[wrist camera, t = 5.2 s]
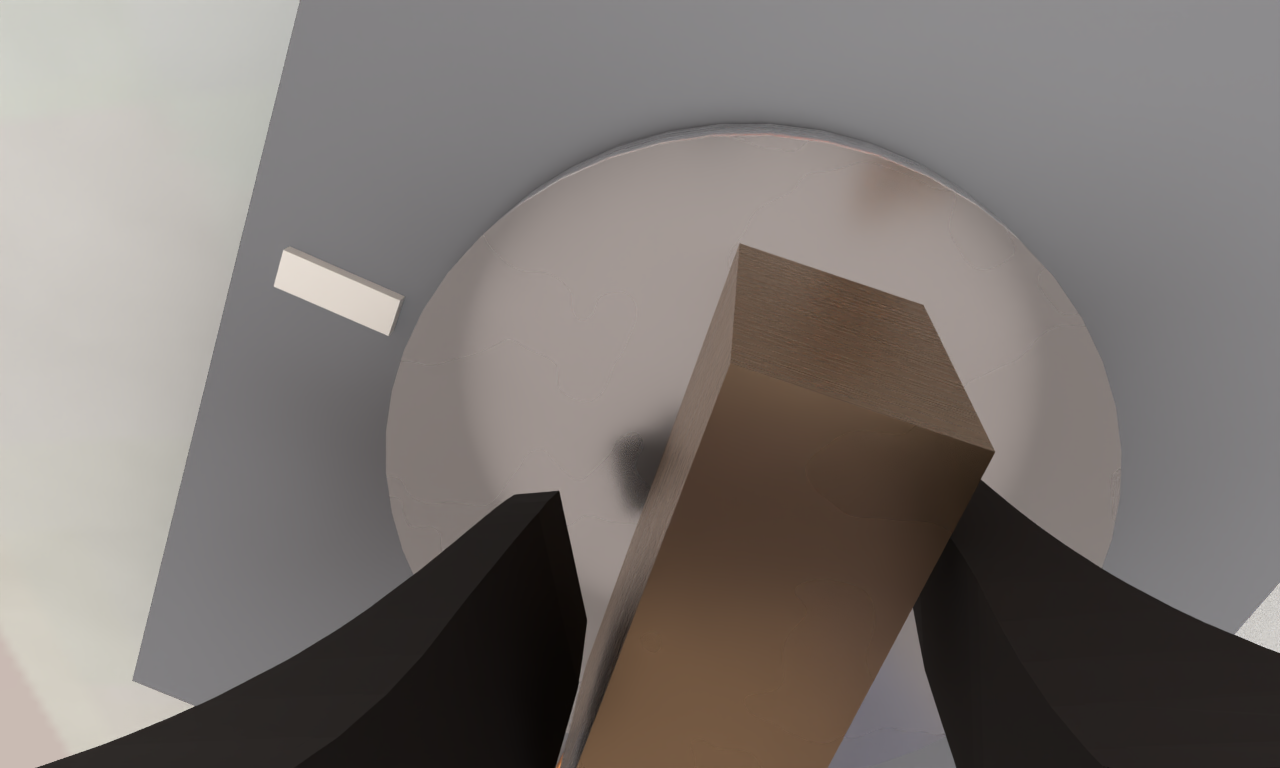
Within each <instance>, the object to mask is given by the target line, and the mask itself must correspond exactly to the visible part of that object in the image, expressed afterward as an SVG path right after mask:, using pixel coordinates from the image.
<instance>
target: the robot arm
mask: <svg viewBox="0 0 1280 768" xmlns="http://www.w3.org/2000/svg"><path fill="white" fill-rule="evenodd" d="M913 611H914V617H915V622H916V628H917V633H918V638H919V644H920V649H921V654H922V659H923V664H924V669H925V673H926V676H927V679H928V682H929V685H930V688H931V692H932V695H933V698H934V701H935V704H936V707H937V710H938V713H939V716H940V719H941V723H942V726H943V729H944V732H945V735H946V738H947V741H948V744H949V747H950V750H951V753H952V756H953V759H954V762H955V765H956V768H1280V653H1278V652H1275V651H1273V650H1270V649H1267V648H1265V647H1262V646H1259V645H1257V644H1255V643H1252V642H1250V641H1248V640H1245V639H1243V638H1240V637H1238V636H1236V635H1233V634H1231V633H1229V632H1226V631H1224V630H1222V629H1219V628H1217V627H1214V626H1212V625H1210V624H1207V623H1205V622H1203V621H1201V620H1199V619H1196V618H1194V617H1192V616H1190V615H1188V614H1186V613H1184V612H1181V611H1179V610H1177V609H1175V608H1173V607H1171V606H1169V605H1167V604H1166V603H1164V602H1162V601H1160V600H1158V599H1156V598H1154V597H1152V596H1150V595H1149V594H1147V593H1145V592H1143V591H1141V590H1139V589H1137V588H1135V587H1133V586H1131V585H1130V584H1128V583H1126V582H1124V581H1122V580H1121V579H1119V578H1117V577H1116V576H1114V575H1112V574H1110V573H1109V572H1107V571H1105V570H1104V569H1102V568H1100V567H1099V566H1097V565H1096V564H1094V563H1093V562H1091V561H1090V560H1088V559H1086V558H1085V557H1083V556H1082V555H1080V554H1079V553H1077V552H1076V551H1074V550H1073V549H1071V548H1070V547H1068V546H1066V545H1065V544H1063V543H1062V542H1061V541H1059V540H1058V539H1056V538H1055V537H1054V536H1052V535H1051V534H1049V533H1048V532H1046V531H1045V530H1044V529H1042V528H1041V527H1040V526H1038V525H1037V524H1036V523H1034V522H1033V521H1032V520H1030V519H1029V518H1028V517H1026V516H1025V515H1024V514H1022V513H1021V512H1020V511H1019V510H1017V509H1016V508H1015V507H1014V506H1012V505H1011V504H1010V503H1009V502H1007V501H1006V500H1005V499H1004V498H1003V497H1001V496H1000V495H999V494H998V493H997V492H995V491H994V490H993V489H992V488H991V487H989V486H988V485H987V484H986V483H985V482H984V481H982V480H980V482H979V484H978V486H977V488H976V490H975V491H974V493H973V495H972V497H971V499H970V501H969V503H968V505H967V506H966V508H965V510H964V512H963V514H962V516H961V518H960V520H959V522H958V523H957V525H956V527H955V529H954V531H953V533H952V535H951V537H950V538H949V540H948V542H947V544H946V546H945V548H944V550H943V552H942V554H941V555H940V557H939V559H938V561H937V563H936V565H935V567H934V569H933V570H932V572H931V574H930V576H929V578H928V580H927V582H926V584H925V586H924V587H923V589H922V591H921V593H920V595H919V597H918V599H917V601H916V602H915V604H914V606H913ZM586 627H587V617H586V612H585V607H584V603H583V598H582V594H581V589H580V584H579V580H578V575H577V570H576V566H575V561H574V556H573V552H572V547H571V543H570V538H569V533H568V529H567V524H566V519H565V515H564V510H563V505H562V501H561V496H560V492H559V491H549V492H537V493H525V494H515V495H513V496H512V497H510V498H508V499H507V500H505V501H504V502H503V503H501V504H500V505H499V506H497V507H496V508H495V509H494V510H492V511H491V512H490V513H489V514H487V515H486V516H485V517H484V518H482V519H481V520H480V521H479V522H478V523H476V524H475V525H474V526H473V527H472V528H470V529H469V530H468V531H467V532H466V533H464V534H463V535H462V536H461V537H459V538H458V539H457V540H456V541H455V542H453V543H452V544H451V545H450V546H449V547H447V548H446V549H445V550H444V551H442V552H441V553H440V554H439V555H438V556H436V557H435V558H434V559H433V560H431V561H430V562H429V563H428V564H427V565H425V566H424V567H423V568H422V569H420V570H419V571H418V572H416V573H415V574H414V575H412V576H411V577H410V578H408V579H407V580H406V581H404V582H403V583H402V584H400V585H399V586H398V587H396V588H395V589H394V590H392V591H391V592H390V593H388V594H387V595H386V596H384V597H383V598H382V599H380V600H379V601H378V602H376V603H375V604H374V605H372V606H371V607H370V608H368V609H367V610H366V611H364V612H363V613H361V614H360V615H358V616H357V617H355V618H354V619H352V620H351V621H349V622H348V623H346V624H345V625H343V626H342V627H340V628H339V629H337V630H336V631H334V632H333V633H331V634H329V635H328V636H326V637H324V638H323V639H321V640H320V641H318V642H316V643H315V644H313V645H311V646H310V647H308V648H306V649H305V650H303V651H302V652H300V653H298V654H296V655H295V656H293V657H291V658H289V659H288V660H286V661H284V662H282V663H280V664H278V665H276V666H275V667H273V668H271V669H269V670H267V671H265V672H263V673H261V674H259V675H257V676H255V677H253V678H251V679H249V680H248V681H246V682H244V683H242V684H240V685H238V686H236V687H234V688H232V689H230V690H228V691H226V692H224V693H223V694H221V695H219V696H217V697H215V698H212V699H210V700H208V701H206V702H204V703H202V704H199V705H197V706H195V707H193V708H191V709H188V710H186V711H184V712H182V713H179V714H177V715H175V716H173V717H170V718H168V719H166V720H163V721H161V722H158V723H156V724H154V725H151V726H149V727H146V728H144V729H141V730H139V731H137V732H134V733H132V734H129V735H127V736H124V737H122V738H119V739H116V740H114V741H111V742H109V743H106V744H103V745H101V746H98V747H95V748H92V749H89V750H86V751H83V752H81V753H78V754H75V755H72V756H69V757H66V758H63V759H60V760H57V761H54V762H52V763H49V764H46V765H43V766H40V767H37V768H555V767H556V764H557V760H558V757H559V753H560V750H561V747H562V743H563V740H564V736H565V733H566V729H567V726H568V722H569V718H570V715H571V711H572V708H573V704H574V701H575V697H576V693H577V689H578V685H579V678H580V671H581V665H582V658H583V651H584V643H585V635H586Z"/></svg>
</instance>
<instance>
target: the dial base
mask: <svg viewBox="0 0 1280 768" xmlns="http://www.w3.org/2000/svg"><path fill="white" fill-rule="evenodd" d="M717 124H774V125H782V126H790V127H798V128H807V129H815V130H822V131H826V132H829V133H833V134H837V135H841V136H844V137H848V138H852V139H856V140H860V141H863V142H867V143H871V144H873V145H876V146H878V147H881V148H883V149H885V150H888V151H890V152H893V153H895V154H897V155H900V156H902V157H905V158H907V159H909V160H912V161H914V162H917V163H919V164H920V165H922V166H924V167H926V168H927V169H929V170H931V171H932V172H934V173H936V174H937V175H939V176H941V177H942V178H944V179H946V180H948V181H949V182H951V183H953V184H954V185H956V186H958V187H959V188H961V189H962V190H964V191H965V192H966V193H967V194H969V195H970V196H971V197H972V198H974V199H975V200H976V201H977V202H979V203H980V204H981V205H982V206H984V207H985V208H986V209H987V210H989V211H990V212H991V213H992V214H994V215H995V216H996V217H997V218H999V219H1000V220H1001V221H1002V222H1003V223H1004V224H1005V225H1006V226H1007V227H1008V228H1009V230H1010V231H1011V232H1012V233H1013V234H1014V235H1015V236H1016V237H1017V238H1018V239H1019V240H1020V241H1021V242H1022V243H1023V244H1024V245H1025V246H1026V247H1027V249H1028V250H1029V251H1030V252H1031V253H1032V254H1033V255H1034V256H1035V257H1036V258H1037V259H1038V260H1039V261H1040V263H1041V264H1042V265H1043V266H1044V267H1045V268H1046V269H1047V270H1048V271H1049V272H1050V273H1051V274H1052V275H1053V277H1054V278H1055V279H1056V281H1057V282H1058V284H1059V285H1060V287H1061V288H1062V290H1063V291H1064V293H1065V294H1066V295H1067V297H1068V298H1069V300H1070V301H1071V303H1072V304H1073V306H1074V307H1075V309H1076V310H1077V312H1078V313H1079V315H1080V316H1081V318H1082V319H1083V321H1084V323H1085V326H1086V328H1087V330H1088V332H1089V334H1090V336H1091V338H1092V340H1093V343H1094V345H1095V347H1096V349H1097V351H1098V353H1099V355H1100V357H1101V359H1102V362H1103V365H1104V368H1105V372H1106V375H1107V378H1108V382H1109V385H1110V389H1111V392H1112V396H1113V399H1114V402H1115V406H1116V412H1117V420H1118V428H1119V436H1120V444H1121V482H1120V499H1119V504H1118V510H1117V515H1116V520H1115V525H1114V530H1113V536H1112V540H1111V543H1110V546H1109V549H1108V551H1107V554H1106V557H1105V560H1104V563H1103V566H1102V569H1104V570H1105V571H1107V572H1109V573H1110V574H1112V575H1114V576H1116V577H1117V578H1119V579H1121V580H1122V581H1124V582H1126V583H1128V584H1130V585H1131V586H1133V587H1135V588H1137V589H1139V590H1141V591H1143V592H1145V593H1147V594H1149V595H1150V596H1152V597H1154V598H1156V599H1158V600H1160V601H1162V602H1164V603H1166V604H1167V605H1169V606H1171V607H1173V608H1175V609H1177V610H1179V611H1181V612H1184V613H1186V614H1188V615H1190V616H1192V617H1194V618H1196V619H1199V620H1201V621H1203V622H1205V623H1207V624H1210V625H1212V626H1214V627H1217V628H1219V629H1222V630H1224V631H1226V632H1229V633H1231V634H1233V635H1234V634H1235V633H1236V632H1237V631H1238V630H1239V628H1240V627H1241V626H1242V625H1243V624H1244V623H1245V622H1246V620H1247V619H1248V618H1249V617H1250V616H1251V615H1252V614H1253V612H1254V611H1255V610H1256V609H1257V608H1258V607H1259V606H1260V604H1261V603H1262V602H1263V601H1264V600H1265V599H1266V598H1267V596H1268V595H1269V594H1270V593H1271V592H1272V591H1273V590H1274V588H1275V587H1276V586H1277V585H1278V584H1279V583H1280V0H300V3H299V7H298V11H297V15H296V19H295V23H294V27H293V31H292V35H291V39H290V43H289V47H288V51H287V55H286V59H285V63H284V67H283V72H282V76H281V80H280V84H279V88H278V92H277V96H276V100H275V104H274V108H273V112H272V116H271V120H270V124H269V128H268V132H267V136H266V140H265V145H264V149H263V153H262V157H261V161H260V165H259V169H258V173H257V177H256V181H255V185H254V189H253V193H252V197H251V201H250V205H249V209H248V214H247V218H246V222H245V226H244V230H243V234H242V238H241V242H240V246H239V250H238V254H237V258H236V262H235V266H234V270H233V274H232V278H231V282H230V287H229V291H228V295H227V299H226V303H225V307H224V311H223V315H222V319H221V323H220V327H219V331H218V335H217V339H216V343H215V347H214V351H213V356H212V360H211V364H210V368H209V372H208V376H207V380H206V384H205V388H204V392H203V396H202V400H201V404H200V408H199V412H198V416H197V420H196V424H195V429H194V433H193V437H192V441H191V445H190V449H189V453H188V457H187V461H186V465H185V469H184V473H183V477H182V481H181V485H180V489H179V493H178V498H177V502H176V506H175V510H174V514H173V518H172V522H171V526H170V530H169V534H168V538H167V542H166V546H165V550H164V554H163V558H162V562H161V567H160V571H159V575H158V579H157V583H156V587H155V591H154V595H153V599H152V603H151V607H150V611H149V615H148V619H147V623H146V627H145V631H144V635H143V640H142V644H141V648H140V652H139V656H138V660H137V664H136V668H135V672H134V676H133V680H132V681H135V682H137V683H140V684H142V685H145V686H147V687H149V688H152V689H154V690H157V691H159V692H162V693H164V694H167V695H169V696H172V697H174V698H177V699H179V700H182V701H184V702H187V703H189V704H192V705H194V706H197V705H199V704H202V703H204V702H206V701H208V700H210V699H212V698H215V697H217V696H219V695H221V694H223V693H224V692H226V691H228V690H230V689H232V688H234V687H236V686H238V685H240V684H242V683H244V682H246V681H248V680H249V679H251V678H253V677H255V676H257V675H259V674H261V673H263V672H265V671H267V670H269V669H271V668H273V667H275V666H276V665H278V664H280V663H282V662H284V661H286V660H288V659H289V658H291V657H293V656H295V655H296V654H298V653H300V652H302V651H303V650H305V649H306V648H308V647H310V646H311V645H313V644H315V643H316V642H318V641H320V640H321V639H323V638H324V637H326V636H328V635H329V634H331V633H333V632H334V631H336V630H337V629H339V628H340V627H342V626H343V625H345V624H346V623H348V622H349V621H351V620H352V619H354V618H355V617H357V616H358V615H360V614H361V613H363V612H364V611H366V610H367V609H368V608H370V607H371V606H372V605H374V604H375V603H376V602H378V601H379V600H380V599H382V598H383V597H384V596H386V595H387V594H388V593H390V592H391V591H392V590H394V589H395V588H396V587H398V586H399V585H400V584H402V583H403V582H404V581H406V580H407V579H408V578H410V577H411V576H412V575H413V572H412V570H411V568H410V566H409V563H408V561H407V559H406V557H405V554H404V552H403V549H402V546H401V542H400V539H399V535H398V532H397V529H396V525H395V522H394V518H393V515H392V510H391V503H390V497H389V490H388V483H387V476H386V428H387V421H388V414H389V407H390V400H391V393H392V389H393V385H394V382H395V379H396V375H397V372H398V369H399V365H400V362H401V359H402V355H403V352H404V349H405V347H406V345H407V343H408V341H409V338H410V336H411V334H412V332H413V330H414V328H415V326H416V324H417V322H418V319H419V317H420V315H421V313H422V311H423V309H424V308H425V306H426V305H427V303H428V302H429V300H430V299H431V297H432V296H433V294H434V293H435V291H436V290H437V288H438V287H439V285H440V284H441V282H442V281H443V279H444V278H445V276H446V275H447V273H448V272H449V271H450V270H451V269H452V268H453V266H454V265H455V264H456V263H457V262H458V261H459V260H460V259H461V258H462V256H463V255H464V254H465V253H466V252H467V251H468V250H469V249H470V248H471V247H472V245H473V244H474V243H475V242H476V241H477V240H478V239H479V238H480V237H481V236H482V235H483V234H484V233H485V232H486V231H487V230H488V229H489V228H490V227H491V226H492V225H493V224H494V223H496V222H497V221H498V220H499V219H500V218H501V217H502V216H503V215H505V214H506V213H507V212H508V211H510V210H511V209H512V208H513V207H514V206H516V205H517V204H518V203H519V202H520V201H522V200H523V199H524V198H525V197H526V196H528V195H529V194H530V193H531V192H532V191H534V190H535V189H537V188H538V187H540V186H542V185H543V184H545V183H546V182H548V181H550V180H551V179H553V178H555V177H556V176H558V175H559V174H561V173H563V172H564V171H566V170H568V169H569V168H571V167H572V166H574V165H576V164H578V163H581V162H583V161H585V160H587V159H590V158H592V157H594V156H596V155H599V154H601V153H603V152H606V151H608V150H610V149H612V148H615V147H617V146H619V145H623V144H626V143H630V142H633V141H637V140H640V139H644V138H647V137H651V136H654V135H658V134H661V133H665V132H669V131H676V130H683V129H690V128H697V127H704V126H710V125H717ZM568 734H569V733H567V732H566V733H565V736H564V740H563V743H562V747H561V750H560V753H559V757H558V760H557V764H556V767H555V768H560V766H561V762H562V758H563V754H564V750H565V746H566V742H567V738H568ZM864 768H956V765H955V762H954V759H953V756H952V753H951V750H950V747H949V744H948V741H947V738H946V737H944V738H941V739H939V740H937V741H935V742H933V743H931V744H929V745H927V746H925V747H923V748H921V749H919V750H916V751H914V752H911V753H908V754H905V755H902V756H900V757H897V758H894V759H891V760H888V761H885V762H883V763H880V764H877V765H873V766H868V767H864Z"/></svg>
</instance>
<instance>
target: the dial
mask: <svg viewBox="0 0 1280 768" xmlns="http://www.w3.org/2000/svg"><path fill="white" fill-rule="evenodd" d="M386 476H387V483H388V490H389V497H390V503H391V510H392V515H393V518H394V522H395V525H396V529H397V532H398V535H399V539H400V542H401V546H402V549H403V552H404V554H405V557H406V559H407V561H408V563H409V566H410V568H411V570H412V572H413V575H414V574H415V573H416V572H418V571H419V570H420V569H422V568H423V567H424V566H425V565H427V564H428V563H429V562H430V561H431V560H433V559H434V558H435V557H436V556H438V555H439V554H440V553H441V552H442V551H444V550H445V549H446V548H447V547H449V546H450V545H451V544H452V543H453V542H455V541H456V540H457V539H458V538H459V537H461V536H462V535H463V534H464V533H466V532H467V531H468V530H469V529H470V528H472V527H473V526H474V525H475V524H476V523H478V522H479V521H480V520H481V519H482V518H484V517H485V516H486V515H487V514H489V513H490V512H491V511H492V510H494V509H495V508H496V507H497V506H499V505H500V504H501V503H503V502H504V501H505V500H507V499H508V498H510V497H512V496H513V495H515V494H525V493H537V492H549V491H559V492H560V496H561V501H562V505H563V510H564V515H565V519H566V524H567V529H568V533H569V538H570V543H571V547H572V552H573V556H574V561H575V566H576V570H577V575H578V580H579V584H580V589H581V594H582V598H583V603H584V607H585V612H586V617H587V627H586V635H585V643H584V651H583V658H582V665H581V671H580V678H579V685H578V689H577V693H576V697H575V701H574V704H573V708H572V711H571V715H570V718H569V722H568V726H567V729H566V732H567V733H569V734H568V738H567V742H566V746H565V750H564V754H563V758H562V762H561V766H560V768H864V767H868V766H873V765H877V764H880V763H883V762H885V761H888V760H891V759H894V758H897V757H900V756H902V755H905V754H908V753H911V752H914V751H916V750H919V749H921V748H923V747H925V746H927V745H929V744H931V743H933V742H935V741H937V740H939V739H941V738H944V737H946V735H945V732H944V729H943V726H942V723H941V719H940V716H939V713H938V710H937V707H936V704H935V701H934V698H933V695H932V692H931V688H930V685H929V682H928V679H927V676H926V673H925V669H924V664H923V659H922V654H921V649H920V644H919V638H918V633H917V628H916V622H915V617H914V611H913V606H914V604H915V602H916V601H917V599H918V597H919V595H920V593H921V591H922V589H923V587H924V586H925V584H926V582H927V580H928V578H929V576H930V574H931V572H932V570H933V569H934V567H935V565H936V563H937V561H938V559H939V557H940V555H941V554H942V552H943V550H944V548H945V546H946V544H947V542H948V540H949V538H950V537H951V535H952V533H953V531H954V529H955V527H956V525H957V523H958V522H959V520H960V518H961V516H962V514H963V512H964V510H965V508H966V506H967V505H968V503H969V501H970V499H971V497H972V495H973V493H974V491H975V490H976V488H977V486H978V484H979V482H980V480H982V481H984V482H985V483H986V484H987V485H988V486H989V487H991V488H992V489H993V490H994V491H995V492H997V493H998V494H999V495H1000V496H1001V497H1003V498H1004V499H1005V500H1006V501H1007V502H1009V503H1010V504H1011V505H1012V506H1014V507H1015V508H1016V509H1017V510H1019V511H1020V512H1021V513H1022V514H1024V515H1025V516H1026V517H1028V518H1029V519H1030V520H1032V521H1033V522H1034V523H1036V524H1037V525H1038V526H1040V527H1041V528H1042V529H1044V530H1045V531H1046V532H1048V533H1049V534H1051V535H1052V536H1054V537H1055V538H1056V539H1058V540H1059V541H1061V542H1062V543H1063V544H1065V545H1066V546H1068V547H1070V548H1071V549H1073V550H1074V551H1076V552H1077V553H1079V554H1080V555H1082V556H1083V557H1085V558H1086V559H1088V560H1090V561H1091V562H1093V563H1094V564H1096V565H1097V566H1099V567H1100V568H1102V566H1103V563H1104V560H1105V557H1106V554H1107V551H1108V549H1109V546H1110V543H1111V540H1112V536H1113V530H1114V525H1115V520H1116V515H1117V510H1118V504H1119V499H1120V482H1121V444H1120V436H1119V428H1118V420H1117V412H1116V406H1115V402H1114V399H1113V396H1112V392H1111V389H1110V385H1109V382H1108V378H1107V375H1106V372H1105V368H1104V365H1103V362H1102V359H1101V357H1100V355H1099V353H1098V351H1097V349H1096V347H1095V345H1094V343H1093V340H1092V338H1091V336H1090V334H1089V332H1088V330H1087V328H1086V326H1085V323H1084V321H1083V319H1082V318H1081V316H1080V315H1079V313H1078V312H1077V310H1076V309H1075V307H1074V306H1073V304H1072V303H1071V301H1070V300H1069V298H1068V297H1067V295H1066V294H1065V293H1064V291H1063V290H1062V288H1061V287H1060V285H1059V284H1058V282H1057V281H1056V279H1055V278H1054V277H1053V275H1052V274H1051V273H1050V272H1049V271H1048V270H1047V269H1046V268H1045V267H1044V266H1043V265H1042V264H1041V263H1040V261H1039V260H1038V259H1037V258H1036V257H1035V256H1034V255H1033V254H1032V253H1031V252H1030V251H1029V250H1028V249H1027V247H1026V246H1025V245H1024V244H1023V243H1022V242H1021V241H1020V240H1019V239H1018V238H1017V237H1016V236H1015V235H1014V234H1013V233H1012V232H1011V231H1010V230H1009V228H1008V227H1007V226H1006V225H1005V224H1004V223H1003V222H1002V221H1001V220H1000V219H999V218H997V217H996V216H995V215H994V214H992V213H991V212H990V211H989V210H987V209H986V208H985V207H984V206H982V205H981V204H980V203H979V202H977V201H976V200H975V199H974V198H972V197H971V196H970V195H969V194H967V193H966V192H965V191H964V190H962V189H961V188H959V187H958V186H956V185H954V184H953V183H951V182H949V181H948V180H946V179H944V178H942V177H941V176H939V175H937V174H936V173H934V172H932V171H931V170H929V169H927V168H926V167H924V166H922V165H920V164H919V163H917V162H914V161H912V160H909V159H907V158H905V157H902V156H900V155H897V154H895V153H893V152H890V151H888V150H885V149H883V148H881V147H878V146H876V145H873V144H871V143H867V142H863V141H860V140H856V139H852V138H848V137H844V136H841V135H837V134H833V133H829V132H826V131H822V130H815V129H807V128H798V127H790V126H782V125H774V124H717V125H710V126H704V127H697V128H690V129H683V130H676V131H669V132H665V133H661V134H658V135H654V136H651V137H647V138H644V139H640V140H637V141H633V142H630V143H626V144H623V145H619V146H617V147H615V148H612V149H610V150H608V151H606V152H603V153H601V154H599V155H596V156H594V157H592V158H590V159H587V160H585V161H583V162H581V163H578V164H576V165H574V166H572V167H571V168H569V169H568V170H566V171H564V172H563V173H561V174H559V175H558V176H556V177H555V178H553V179H551V180H550V181H548V182H546V183H545V184H543V185H542V186H540V187H538V188H537V189H535V190H534V191H532V192H531V193H530V194H529V195H528V196H526V197H525V198H524V199H523V200H522V201H520V202H519V203H518V204H517V205H516V206H514V207H513V208H512V209H511V210H510V211H508V212H507V213H506V214H505V215H503V216H502V217H501V218H500V219H499V220H498V221H497V222H496V223H494V224H493V225H492V226H491V227H490V228H489V229H488V230H487V231H486V232H485V233H484V234H483V235H482V236H481V237H480V238H479V239H478V240H477V241H476V242H475V243H474V244H473V245H472V247H471V248H470V249H469V250H468V251H467V252H466V253H465V254H464V255H463V256H462V258H461V259H460V260H459V261H458V262H457V263H456V264H455V265H454V266H453V268H452V269H451V270H450V271H449V272H448V273H447V275H446V276H445V278H444V279H443V281H442V282H441V284H440V285H439V287H438V288H437V290H436V291H435V293H434V294H433V296H432V297H431V299H430V300H429V302H428V303H427V305H426V306H425V308H424V309H423V311H422V313H421V315H420V317H419V319H418V322H417V324H416V326H415V328H414V330H413V332H412V334H411V336H410V338H409V341H408V343H407V345H406V347H405V349H404V352H403V355H402V359H401V362H400V365H399V369H398V372H397V375H396V379H395V382H394V385H393V389H392V393H391V400H390V407H389V414H388V421H387V428H386Z"/></svg>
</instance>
